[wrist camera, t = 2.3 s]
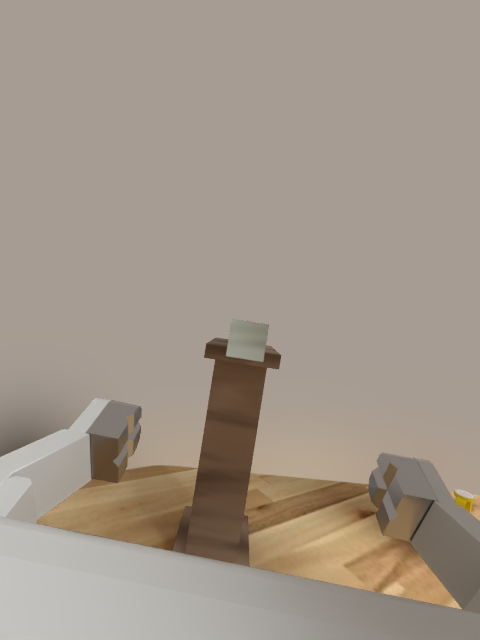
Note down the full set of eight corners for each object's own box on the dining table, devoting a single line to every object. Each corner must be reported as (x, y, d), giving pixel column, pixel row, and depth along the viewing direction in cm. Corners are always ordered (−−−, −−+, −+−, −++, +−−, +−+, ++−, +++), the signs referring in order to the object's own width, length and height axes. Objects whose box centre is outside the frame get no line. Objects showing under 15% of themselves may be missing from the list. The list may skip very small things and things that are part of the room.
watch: (463, 539, 51) (468, 504, 51) (444, 529, 54) (448, 495, 53) (473, 525, 55) (478, 492, 55) (455, 516, 57) (459, 484, 57)
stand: (247, 599, 34) (285, 356, 34) (163, 585, 34) (201, 342, 34) (246, 526, 46) (274, 346, 46) (184, 516, 46) (212, 337, 46)
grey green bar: (232, 340, 45) (235, 319, 45) (254, 344, 45) (258, 323, 45) (224, 355, 25) (230, 318, 25) (264, 362, 25) (270, 324, 25)
